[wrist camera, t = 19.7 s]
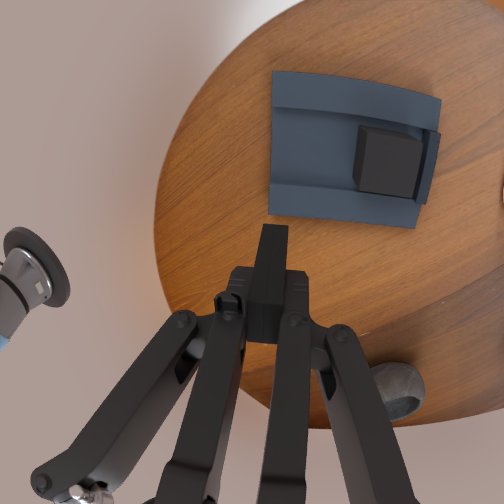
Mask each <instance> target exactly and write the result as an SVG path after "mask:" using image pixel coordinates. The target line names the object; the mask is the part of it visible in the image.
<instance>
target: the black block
mask: <svg viewBox="0 0 504 504" xmlns="http://www.w3.org/2000/svg"><path fill="white" fill-rule="evenodd" d="M422 149H423V143H422V142H421V141H419V140H418V139H416V138H414V137H413V136H411V135H409V134H405V133H400V132H395V131H390V130H385V129H380V128H374V127H368V126H362V125H359V126H358V135H357V144H356V152H355V159H354V167H353V174H352V178H353V180H354V182H355V184H356V186H357V188H358V190H359V191H366V192H373V193H381V194H388V195H395V196H401V197H408V198H412V196H413V192H414V188H415V184H416V179H417V175H418V170H419V165H420V160H421V155H422Z"/></svg>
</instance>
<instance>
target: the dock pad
mask: <svg viewBox="0 0 504 504" xmlns="http://www.w3.org/2000/svg"><path fill="white" fill-rule="evenodd" d="M440 108H441V99H438V98H435V97H432V96H428V95H425V94H421V93H418V92H414V91H410V90H406V89H402V88H398V87H394V86H389V85H385V84H380V83H375V82H370V81H364V80H358V79H352V78H346V77H339V76H331V75H322V74H312V73H300V72H285V71H272V134H271V168H270V183H269V208H268V214H269V215H282V216H294V217H306V218H317V219H328V220H339V221H349V222H358V223H368V224H377V225H385V226H394V227H402V228H410V229H415V226H416V222H417V219H418V216H419V212H420V208H421V205H422V204H426V201H427V197H428V194H429V190H430V186H431V181H432V177H433V173H434V168H435V163H436V159H437V154H438V148H439V143H440V137H441V134H440V133H438V132H437V130H438V123H439V116H440ZM359 125H362V126H368V127H374V128H380V129H385V130H390V131H395V132H400V133H405V134H409V135H411V136H413V137H414V138H416V139H418V140H419V141H421V142H422V143H423V149H422V155H421V160H420V165H419V170H418V175H417V179H416V184H415V188H414V192H413V196H412V198H408V197H401V196H395V195H388V194H381V193H373V192H366V191H359V190H358V188H357V186H356V184H355V182H354V180H353V178H352V174H353V167H354V159H355V152H356V144H357V135H358V126H359Z"/></svg>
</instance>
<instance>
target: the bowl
mask: <svg viewBox="0 0 504 504" xmlns="http://www.w3.org/2000/svg"><path fill="white" fill-rule="evenodd" d="M370 370H371V372H372V375H373V377H374V380H375V382H376V385H377V387H378V390H379V392H380V395H381V398H382V400H383V403H384V406H385V408H386V411H387V414H388V416H389V419H390V422H394V421H398V420H400V419H403V418H406V417H408V416H410V415H411V414H413V413H414V412H416V411H417V410H418V409H419V408H420V407H421V406H422V404H423V401H424V397H425V386H424V382H423V379H422V377H421V375H420V373H419V372H418V371H417V369H416V368H415V367H413V366H412V365H409V364H406V363H398V362H387V363H382V364H379V365H376V366H374V367H372V368H370Z"/></svg>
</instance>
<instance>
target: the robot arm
mask: <svg viewBox="0 0 504 504" xmlns="http://www.w3.org/2000/svg"><path fill="white" fill-rule="evenodd" d="M287 243H288V225H275V224H263V228H262V232H261V237H260V242H259V246H258V251H257V256H256V260H255V265H254V267H243V266H237V267H236V268H235V269H234V270H233V271H232V272H231V275H230V278H229V282H228V285H227V288H226V291H223V292H220V293H219V294H217V295H216V297H215V298H214V304H215V312H214V313H212V314H210V315H205V316H196V314H195V313H194V312H192V311H190V310H179V311H177V312H174V313H173V314H172V315H171V316H170V317H169V318H168V319H167V321H166V322H165V323H164V325H163V326H162V327H161V328H160V329H159V331H158V332H157V333H156V335H155V336H154V337H153V338H152V340H151V341H150V342H149V343H148V345H147V346H146V347H145V348H144V350H143V351H142V352H141V354H140V355H139V356H138V357H137V359H136V360H135V361H134V362H133V364H132V365H131V367H130V368H129V369H128V371H126V373H125V374H124V375H123V377H122V378H121V379H120V381H119V382H118V383H117V384H116V386H115V387H114V388H113V390H112V391H111V392H110V394H109V395H108V396H107V398H106V399H105V400H104V401H103V403H102V404H101V405H100V407H99V408H98V409H97V411H96V412H95V413H94V415H93V416H92V417H91V419H90V420H89V421H88V423H87V424H86V426H85V427H84V428H83V429H82V431H81V432H80V433H79V435H78V436H77V438H76V439H75V440H74V442H73V443H72V444H71V446H70V447H69V449H67V450H66V451H64V452H62V453H61V454H59V455H58V456H56V457H54V458H53V459H51V460H50V461H48V462H46V463H44V464H43V465H41V466H39V467H38V468H36V469H35V470H34V471H33V472H32V474H31V486H32V488H33V490H34V491H35V493H36V494H37V495H38V496H40V497H41V498H44V499H47V500H50V501H53V502H54V504H114V500H113V496H112V494H111V493H112V492H114V491H115V490H116V489H117V488H118V487H119V486H120V485H121V484H122V483H123V482H124V481H125V480H126V478H127V477H128V476H129V474H130V473H131V471H132V470H133V468H134V466H135V465H136V463H137V462H138V460H139V459H140V457H141V456H142V454H143V453H144V451H145V450H146V448H147V447H148V445H149V444H150V442H151V440H152V439H153V437H154V436H155V434H156V433H157V431H158V430H159V428H160V426H161V425H162V423H163V422H164V420H165V419H166V417H167V416H168V414H169V413H170V411H171V409H172V408H173V406H174V405H175V403H176V401H177V400H178V398H179V397H180V395H181V393H182V392H183V390H184V389H185V387H186V386H187V384H188V383H189V381H190V380H191V378H192V376H193V375H194V373H195V372H196V370H197V368H198V367H199V368H198V371H197V374H196V378H195V381H194V384H193V388H192V391H191V395H190V398H189V401H188V405H187V408H186V412H185V415H184V419H183V422H182V425H181V429H180V432H179V436H178V439H177V443H176V446H175V450H174V453H173V456H172V458H171V460H170V461H169V462H168V463H167V464H166V465H165V467H164V470H163V473H162V477H161V480H160V483H159V487H158V491H157V494H156V497H154V498H152V499H150V500H148V501H146V502H144V503H143V504H217V501H218V497H219V490H220V480H221V474H222V469H223V464H224V460H225V455H226V449H227V445H228V440H229V435H230V430H231V424H232V419H233V414H234V409H235V404H236V399H237V394H238V389H239V384H240V378H241V373H242V368H243V363H244V357H245V352H246V340H247V341H248V342H257V343H267V344H278V345H277V353H276V361H275V371H274V380H273V388H272V396H271V404H270V412H269V420H268V427H267V435H266V442H265V449H264V456H263V463H262V470H261V476H260V483H259V488H258V494H257V500H256V504H305V500H306V481H305V469H306V468H305V467H306V456H307V441H308V425H309V403H310V371H311V368H312V369H315V370H316V373H317V377H318V380H319V384H320V387H321V391H322V395H323V398H324V402H325V406H326V409H327V413H328V417H329V421H330V424H331V428H332V432H333V436H334V440H335V444H336V447H337V452H338V455H339V459H340V463H341V468H342V472H343V476H344V480H345V483H346V488H347V492H348V497H349V501H350V504H420V503H419V502H418V501H417V499H416V498H415V496H414V493H413V490H412V486H411V483H410V479H409V476H408V473H407V470H406V466H405V463H404V460H403V457H402V454H401V451H400V448H399V445H398V442H397V439H396V436H395V433H394V430H393V428H392V425H391V422H390V419H389V416H388V414H387V411H386V408H385V406H384V403H383V400H382V398H381V395H380V392H379V390H378V387H377V385H376V382H375V380H374V377H373V375H372V372H371V370H370V367H369V365H368V362H367V360H366V357H365V355H364V352H363V350H362V348H361V345H360V343H359V341H358V338H357V336H356V334H355V332H354V331H353V329H351V328H350V327H349V326H346V325H343V324H336V325H333V326H331V327H330V328H326V327H323V326H320V325H318V324H316V323H315V322H314V321H313V320H312V319H311V317H310V315H309V278H308V276H307V275H306V273H305V271H297V270H286V258H287ZM0 265H2V266H3V267H2V269H1V271H0V351H1V350H2V349H3V347H4V346H5V345H6V344H7V342H9V340H10V338H11V337H12V335H13V334H14V332H15V331H16V329H17V328H18V327H19V325H20V324H21V322H22V321H23V320H24V318H25V317H26V315H27V314H28V313H29V312H30V310H32V309H33V308H35V307H37V306H38V305H40V304H41V303H43V302H45V301H46V300H48V299H49V298H50V297H51V295H52V294H53V292H54V284H53V280H52V278H51V276H50V273H49V272H48V270H47V268H46V267H45V265H44V264H43V263H42V261H41V260H40V259H39V258H38V257H37V256H36V255H35V254H34V253H33V252H32V251H31V250H29V249H28V248H26V247H24V246H16V247H14V248H13V249H12V250H11V251H10V253H9V254H8V256H7V258H6V260H5V262H4V263H1V262H0Z"/></svg>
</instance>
